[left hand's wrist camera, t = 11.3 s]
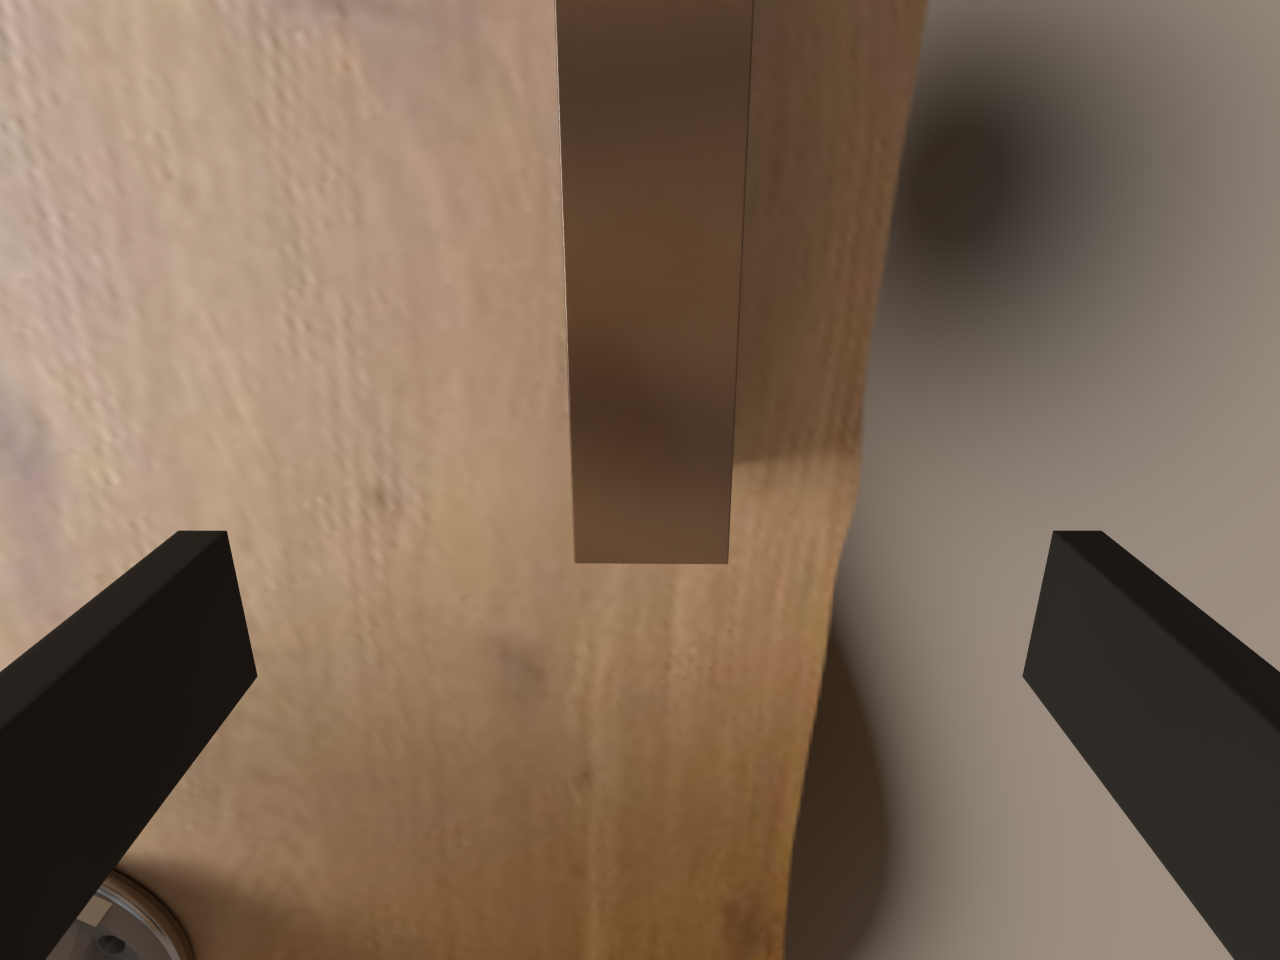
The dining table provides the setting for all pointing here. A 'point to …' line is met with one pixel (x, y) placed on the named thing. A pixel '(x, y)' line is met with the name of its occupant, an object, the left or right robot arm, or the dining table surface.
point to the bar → (652, 269)
